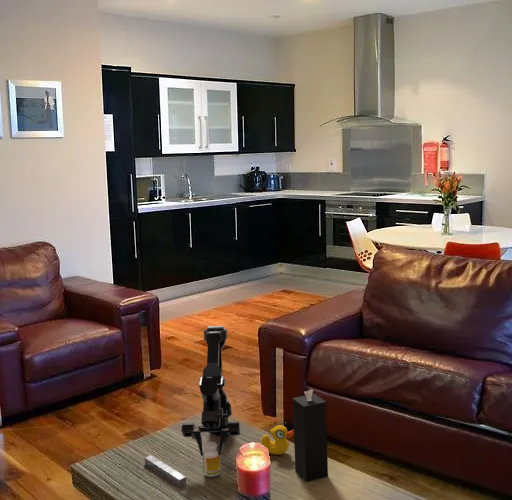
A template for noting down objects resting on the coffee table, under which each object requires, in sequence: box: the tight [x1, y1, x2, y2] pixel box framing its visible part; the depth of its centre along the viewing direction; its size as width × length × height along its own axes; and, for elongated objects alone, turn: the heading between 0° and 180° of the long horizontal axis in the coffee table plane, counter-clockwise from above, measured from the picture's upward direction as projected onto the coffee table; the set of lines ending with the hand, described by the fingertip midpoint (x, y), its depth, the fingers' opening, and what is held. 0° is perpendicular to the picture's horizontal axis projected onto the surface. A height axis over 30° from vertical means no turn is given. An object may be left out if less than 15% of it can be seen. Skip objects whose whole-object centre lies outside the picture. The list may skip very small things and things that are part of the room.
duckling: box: [261, 424, 294, 456], centre depth 215 cm, size 11×5×10 cm, turn 81°
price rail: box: [143, 454, 187, 488], centre depth 204 cm, size 3×21×2 cm, turn 40°
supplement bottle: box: [202, 441, 221, 478], centre depth 202 cm, size 5×5×10 cm
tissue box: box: [292, 389, 329, 482], centre depth 199 cm, size 8×8×28 cm
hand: (210, 455), depth 200 cm, fingers closed on supplement bottle, 5 cm apart
